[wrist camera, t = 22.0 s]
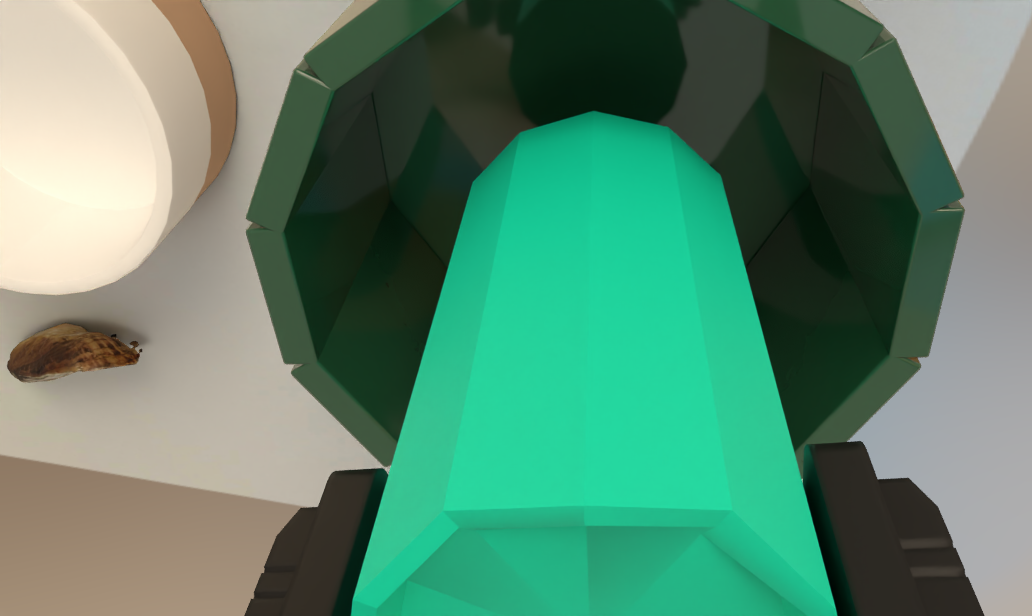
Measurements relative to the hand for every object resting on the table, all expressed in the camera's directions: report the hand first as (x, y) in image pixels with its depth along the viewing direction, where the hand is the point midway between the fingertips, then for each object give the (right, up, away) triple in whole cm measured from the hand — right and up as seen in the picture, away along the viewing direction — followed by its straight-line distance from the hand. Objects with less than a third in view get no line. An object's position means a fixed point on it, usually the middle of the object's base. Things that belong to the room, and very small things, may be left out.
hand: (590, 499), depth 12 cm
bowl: (-24, +15, +32) cm, 43 cm away
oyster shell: (-29, +1, +43) cm, 52 cm away
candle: (+1, +4, +6) cm, 8 cm away
